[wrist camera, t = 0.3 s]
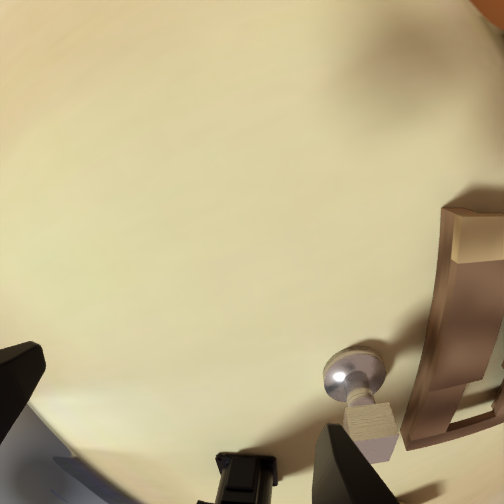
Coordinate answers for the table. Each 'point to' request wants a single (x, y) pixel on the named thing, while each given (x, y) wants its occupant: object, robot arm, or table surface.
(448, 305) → the keyhole board
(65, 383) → the table surface
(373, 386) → the headed peg
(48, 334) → the table surface
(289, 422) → the table surface
